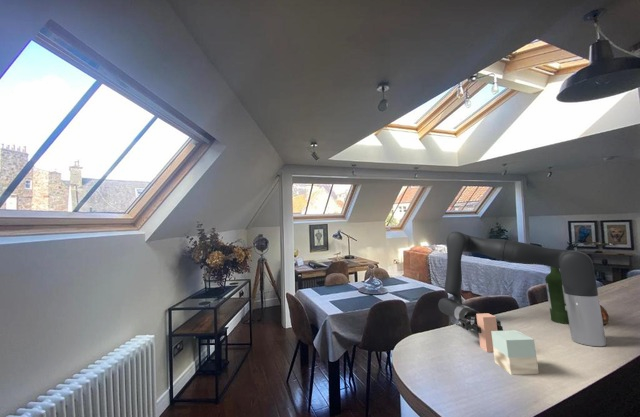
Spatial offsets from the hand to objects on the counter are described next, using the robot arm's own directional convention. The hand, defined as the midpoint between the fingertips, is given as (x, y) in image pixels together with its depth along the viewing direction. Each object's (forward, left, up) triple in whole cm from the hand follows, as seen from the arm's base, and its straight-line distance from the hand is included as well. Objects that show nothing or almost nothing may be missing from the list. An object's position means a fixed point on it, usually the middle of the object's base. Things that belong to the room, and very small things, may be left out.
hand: (490, 329), depth 96 cm
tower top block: (+6, +10, -3) cm, 12 cm away
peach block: (-1, -2, -8) cm, 8 cm away
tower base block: (+6, +10, -8) cm, 14 cm away
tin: (-65, +6, -8) cm, 66 cm away
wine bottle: (-55, -1, -8) cm, 56 cm away
